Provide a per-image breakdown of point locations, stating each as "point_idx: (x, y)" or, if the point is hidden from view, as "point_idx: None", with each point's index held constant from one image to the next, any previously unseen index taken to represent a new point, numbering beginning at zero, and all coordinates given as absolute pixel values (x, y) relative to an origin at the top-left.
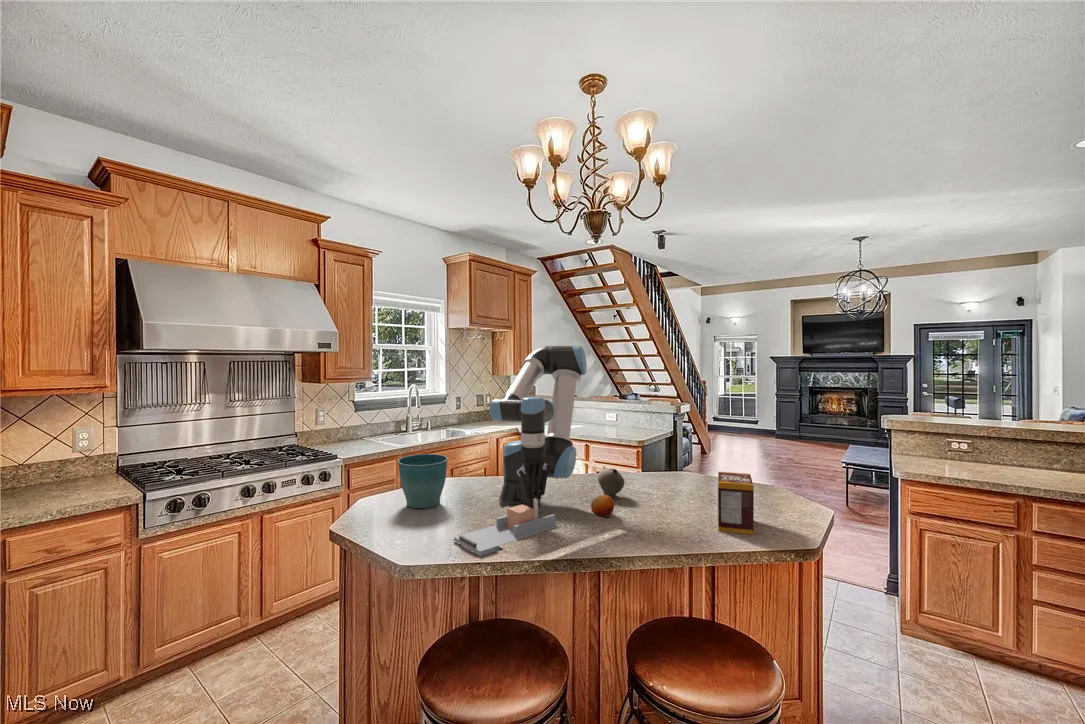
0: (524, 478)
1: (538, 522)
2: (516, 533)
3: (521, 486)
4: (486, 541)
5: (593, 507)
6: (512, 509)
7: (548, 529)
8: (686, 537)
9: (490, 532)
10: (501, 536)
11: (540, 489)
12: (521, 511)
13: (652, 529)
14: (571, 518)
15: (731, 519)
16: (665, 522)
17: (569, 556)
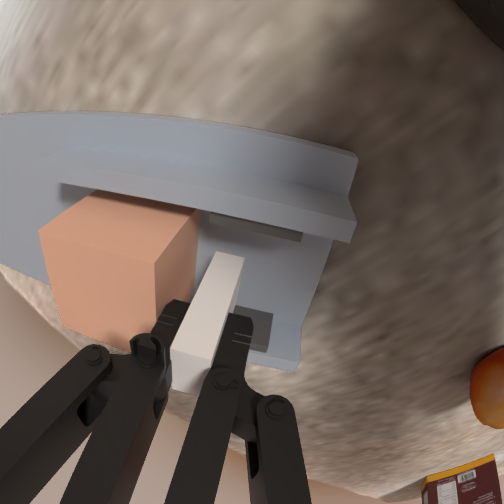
0: (13, 498)
1: None
2: None
3: (24, 424)
4: (7, 226)
5: (484, 383)
6: (54, 269)
7: None
8: (387, 473)
9: (34, 174)
10: None
11: (287, 439)
12: (81, 326)
13: (411, 448)
14: (448, 308)
15: (425, 497)
16: (458, 442)
17: None
